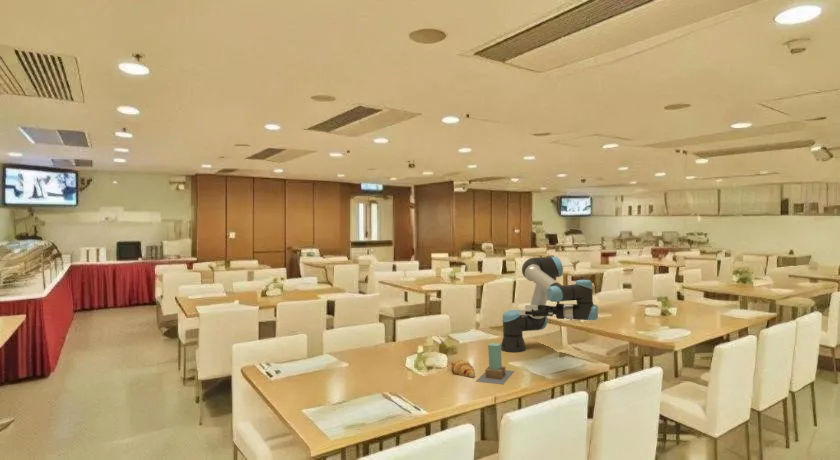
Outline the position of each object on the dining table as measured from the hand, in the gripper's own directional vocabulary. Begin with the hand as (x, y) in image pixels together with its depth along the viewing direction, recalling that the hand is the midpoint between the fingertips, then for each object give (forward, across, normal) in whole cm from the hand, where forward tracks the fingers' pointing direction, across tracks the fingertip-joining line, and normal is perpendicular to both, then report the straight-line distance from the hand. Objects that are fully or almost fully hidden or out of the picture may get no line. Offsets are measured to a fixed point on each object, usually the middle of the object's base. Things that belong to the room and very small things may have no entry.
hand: (522, 309), depth 240 cm
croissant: (+30, -13, -32) cm, 46 cm away
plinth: (+12, -13, -32) cm, 36 cm away
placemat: (+12, -13, -32) cm, 36 cm away
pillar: (+12, -13, -28) cm, 33 cm away
